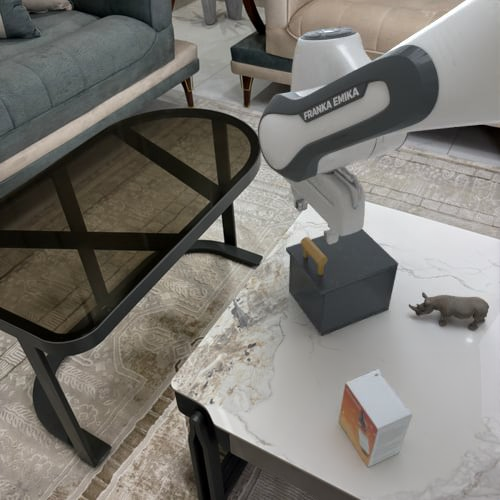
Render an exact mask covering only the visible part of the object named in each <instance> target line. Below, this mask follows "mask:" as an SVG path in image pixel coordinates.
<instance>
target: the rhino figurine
mask: <svg viewBox="0 0 500 500" xmlns="http://www.w3.org/2000/svg"><path fill="white" fill-rule="evenodd" d="M421 297H422V298H423V299H424V301H423V302H422V303H416V306H415V305H411V304H410V303H409V304H408V307H409V308H410V309H411V310H412V311H414V312H415V315H416V316H417V317H420V316H425V315H430V314H432V313H433V312H434V311H437V312H439V313H440V314H441V317H442V318H441V319H440V320H439V321H438V322H439V323H438V325H439V326H441V327H446V326H447V325H448V323H449V322H448V321H449V319H450V318H451V317H454V318H456V319H459V320H468V319H471V318H472V322H470V323H468V325H467V329H468V330H471V331H476V330H477V329H479V325H480V324H481V323H485V322H486V318H487V317H488V313H489V309H490V305H489V303H488V302H487V301H486V300H485V299H483V298H481V297H480V296H458V295H457V296H456V295H450V294H438V295H434V296H428V295H427V294H426V293H425V291H422V292H421Z"/></svg>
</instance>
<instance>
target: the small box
mask: <svg viewBox="0 0 500 500" xmlns="http://www.w3.org/2000/svg"><path fill="white" fill-rule="evenodd" d="M412 417H413V412H412V411H411V410H410V409H409V407H408V406H407V405H406V404H405V402H404V401H403V400H402V399H401V398H400V396H399V395H398V393H397V392H396V391H395V389H394V388H393V387H392V386H391V384H390V383H389V382H388V380H387V379H386V377H385V376H384V374H382V372H381V370H380V369H378V368H377V369H375V370H372V371H370V372H367V373H365V374H363V375H360V376H358V377H356V378H353V379H351V380H348V381H346V382H345V384H344V389H343V394H342V399H341V405H340V411H339V416H338V424H339V425H340V427H341V428H342V429H343V431H344V432H345V434H346V435H347V437H348V439H349V441H350V442H351V444H352V445H353V447H354V448H355V450H356V452H357V453H358V454H359V456H360V459H361V460H362V461H363V463H364V464H365V467H367V468H369V467H372V466H374V465H377V464H378V463H380V462H383V461H384V460H387V459H389V458H390V457H393V456H395V455H397V454H399V453H400V451H401V449H402V446H403V443H404V440H405V437H406V435H407V432H408V428H409V425H410V423H411V419H412Z"/></svg>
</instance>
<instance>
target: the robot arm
mask: <svg viewBox="0 0 500 500" xmlns="http://www.w3.org/2000/svg"><path fill="white" fill-rule="evenodd" d="M489 124H490V125H491V124H492V125H493V124H500V0H464V1H463V2H461V3H460V4H458V5H457V6H455V7H454V8H452V9H451V10H450V11H448V12H447V13H445V14H443V15H442V16H441V17H439V18H437V19H436V20H434V21H432V22H431V23H430V24H428V25H427V26H425V27H423V28H422V29H420V30H419V31H417V32H416V33H414V34H412V35H411V36H410V37H408V38H406V39H405V40H403V41H401V42H400V43H398V44H397V45H396V46H394V47H393V48H391V49H389V50H388V51H387V52H385V53H384V54H382V55H380V56H378V57H377V58H374V59H371V58H370V57H369V55H368V54H367V52H366V51H365V48H364V44H363V41H362V37H361V35H360V33H359V32H358V31H357V30H355V29H353V28H352V27H351V28H350V27H346V26H345V27H343V26H335V27H324V28H319V29H314V30H310V31H306V32H305V33H304V34H302V35H300V37H298V39H297V42H296V44H295V48H294V53H293V58H292V65H291V76H290V91H287V92H284V93H276V94H275V95H273V96H272V98H271V99H270V100H269V102H268V103H267V105H266V107H265V108H264V110H263V112H262V114H261V116H260V119H259V122H258V126H257V140H258V145H259V149H260V152H261V153H260V154H261V155H262V157H263V159H264V162H265V163H266V164H267V165H268V167H269V168H270V169H271V170H273V171H274V172H275V173H277V174H279V175H280V176H281V177H283V179H284V180H285V181H286V182H287V183H288V184H289V185H290V190H291V193H292V197H293V207H294V208H295V209H296V210H297V211H298V212H299V213H300V212H302V211H306V210H308V207H311V208H312V209H313V210H314V211H315V212H316V213H317V214H318V215H319V216H320V217H321V218H322V219H323V221H325V222H326V223H327V227H328V228H329V229H325V230H323V235H324V236H323V235H322V236H323V238H324V239H325V241H326V242H327V243H328V244H333V243H336V242H337V241H338V237H339V236H346V235H350V234H353V233H355V232H358V231H360V230H361V229H363V228H364V225H365V213H366V212H365V211H366V198H365V197H366V195H365V191H364V188H363V186H362V184H361V183H360V181H359V180H358V177H357V175H355V174H354V173H353V172H351V171H349V169H348V168H347V167H348V166H351V165H354V164H357V163H360V162H361V163H362V162H365V161H367V160H370V159H373V158H378V157H380V156H383V155H387V154H389V153H391V152H393V151H398V150H399V149H400V148H401V147H402V146H403V145H404V144H405V142H406V141H407V139H408V137H409V134H410V133H411V132H421V131H429V130H430V131H431V130H437V129H448V128H455V127H456V128H457V127H458V128H460V127H468V126H478V125H489ZM308 205H309V206H308Z"/></svg>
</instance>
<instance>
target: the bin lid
mask: <svg viewBox="0 0 500 500" xmlns="http://www.w3.org/2000/svg"><path fill="white" fill-rule="evenodd" d="M323 236H324V234H323V235H320V236H317V237H314V238H310V237H309V236H304V237H303V238H301V240H300V242H299V243H296V244H293V245H290V246H287V247H285V252H286V253H287V254H288V256H289V258H290V257H291V258H292V259H293V260H294V262H295V263H296V264H297V265H298V267H299V268H300V269H301V270H302V272H303V273H304V274H305V275H306V277H307V278H308V279H309V280H310V282H311V283H312V284H313V285H314V286H315V288H316V289H317V290H318V291H319V293H320V294H321V295H322V294H325V293H327V292H330V291H333V290H336V289H338V288H341V287H344V286H346V285H349V284H352V283H355V282H357V281H360V280H363V279H365V278H368V277H371V276H374V275H376V274H379V273H382V272H384V271H387V270H390V269H393V268H395V267H397V268H398V266H399V262H397V260H396V259H394V258H393V257H392V256H391V255H390V254H389V253H388V252H387V251H386V250H385V249H384V248H383V247H382V246H381V245H380V244H379V243H378V242H377V241H375V240H374V239H373V238H372V236H370V235H369V234H368V233H367V231H365V230H364V229H363V228H362V229H361V230H360V231H358V232H355V233H353V234H350V235H346V236H339V237H338V241H337V242H336V243H333V244H328V243H327V242H326V241H325V239H324V238H323Z"/></svg>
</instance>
